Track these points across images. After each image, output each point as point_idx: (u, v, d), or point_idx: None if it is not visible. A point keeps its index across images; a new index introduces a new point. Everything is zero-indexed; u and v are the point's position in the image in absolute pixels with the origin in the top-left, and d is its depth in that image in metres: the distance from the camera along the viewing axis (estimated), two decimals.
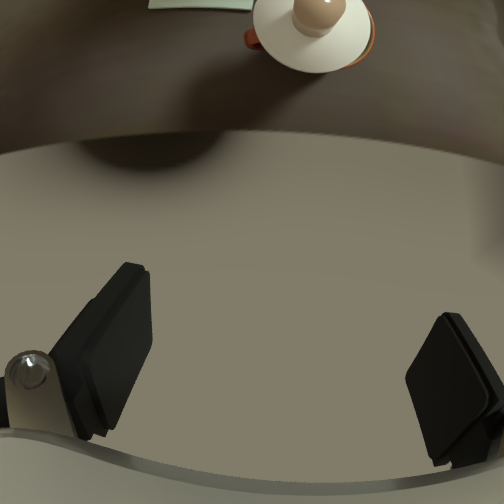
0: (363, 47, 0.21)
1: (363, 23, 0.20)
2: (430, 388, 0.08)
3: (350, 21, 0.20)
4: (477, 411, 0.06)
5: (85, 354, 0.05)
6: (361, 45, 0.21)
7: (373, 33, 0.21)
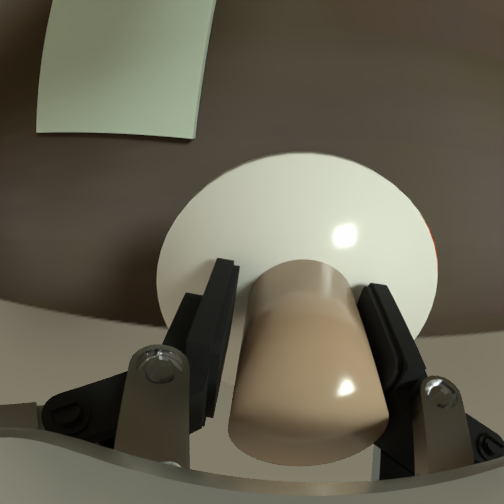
0: None
1: (418, 302, 0.10)
2: None
3: None
4: (389, 379, 0.07)
5: (215, 343, 0.06)
6: None
7: None
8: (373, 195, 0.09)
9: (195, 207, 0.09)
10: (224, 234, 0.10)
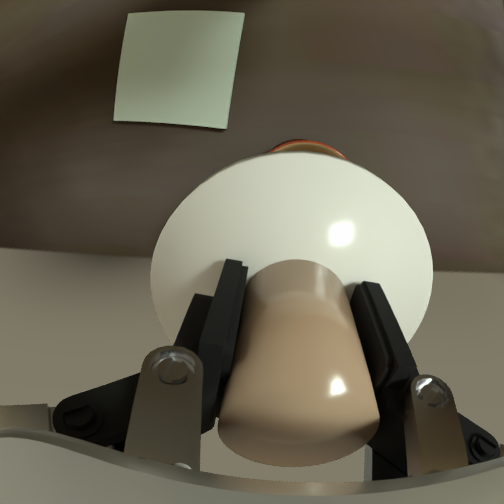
0: None
1: (413, 302, 0.10)
2: None
3: None
4: (380, 378, 0.07)
5: (227, 344, 0.06)
6: None
7: None
8: (366, 195, 0.09)
9: (188, 207, 0.09)
10: (216, 234, 0.10)
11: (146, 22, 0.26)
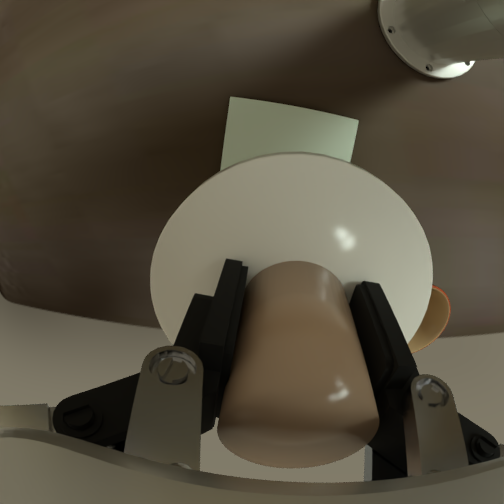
0: None
1: (413, 303, 0.10)
2: None
3: None
4: (380, 378, 0.07)
5: (227, 344, 0.06)
6: None
7: (445, 323, 0.27)
8: (366, 196, 0.09)
9: (187, 209, 0.09)
10: (216, 235, 0.10)
11: (253, 112, 0.29)
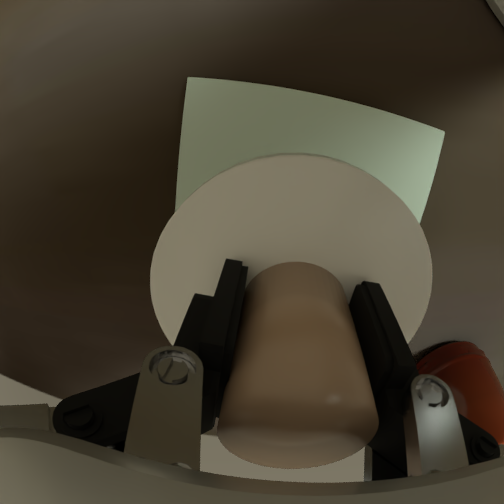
0: None
1: (412, 304, 0.10)
2: None
3: None
4: (380, 378, 0.07)
5: (228, 344, 0.06)
6: None
7: None
8: (366, 197, 0.09)
9: (188, 210, 0.09)
10: (216, 236, 0.10)
11: (236, 107, 0.14)
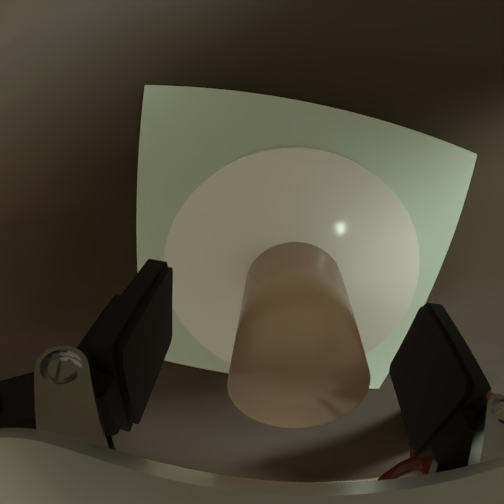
0: (389, 331, 0.12)
1: (402, 283, 0.11)
2: (412, 379, 0.08)
3: (376, 283, 0.11)
4: (457, 401, 0.06)
5: (118, 348, 0.06)
6: (386, 328, 0.12)
7: None
8: (357, 184, 0.10)
9: (200, 195, 0.11)
10: (224, 219, 0.11)
11: (207, 124, 0.10)
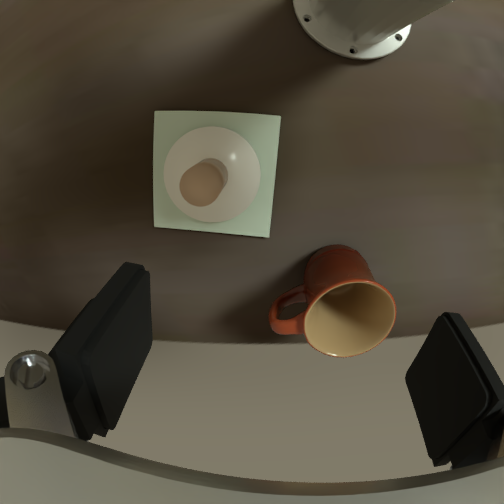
0: (255, 194, 0.32)
1: (253, 170, 0.31)
2: (430, 389, 0.08)
3: (242, 171, 0.31)
4: (477, 411, 0.06)
5: (85, 354, 0.05)
6: (253, 192, 0.32)
7: (393, 321, 0.27)
8: (225, 135, 0.29)
9: (175, 146, 0.30)
10: (183, 153, 0.30)
11: (177, 123, 0.30)
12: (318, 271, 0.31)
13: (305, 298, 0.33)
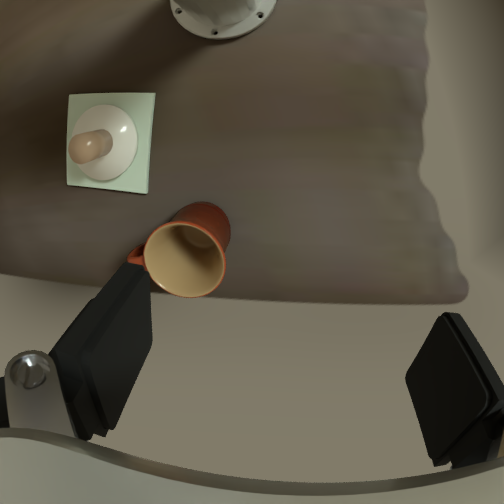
0: (131, 156, 0.36)
1: (130, 137, 0.35)
2: (430, 389, 0.08)
3: (122, 138, 0.35)
4: (477, 411, 0.06)
5: (85, 354, 0.05)
6: (130, 155, 0.36)
7: (223, 266, 0.32)
8: (111, 110, 0.33)
9: (79, 120, 0.34)
10: (84, 126, 0.34)
11: (82, 103, 0.34)
12: (171, 220, 0.35)
13: None
